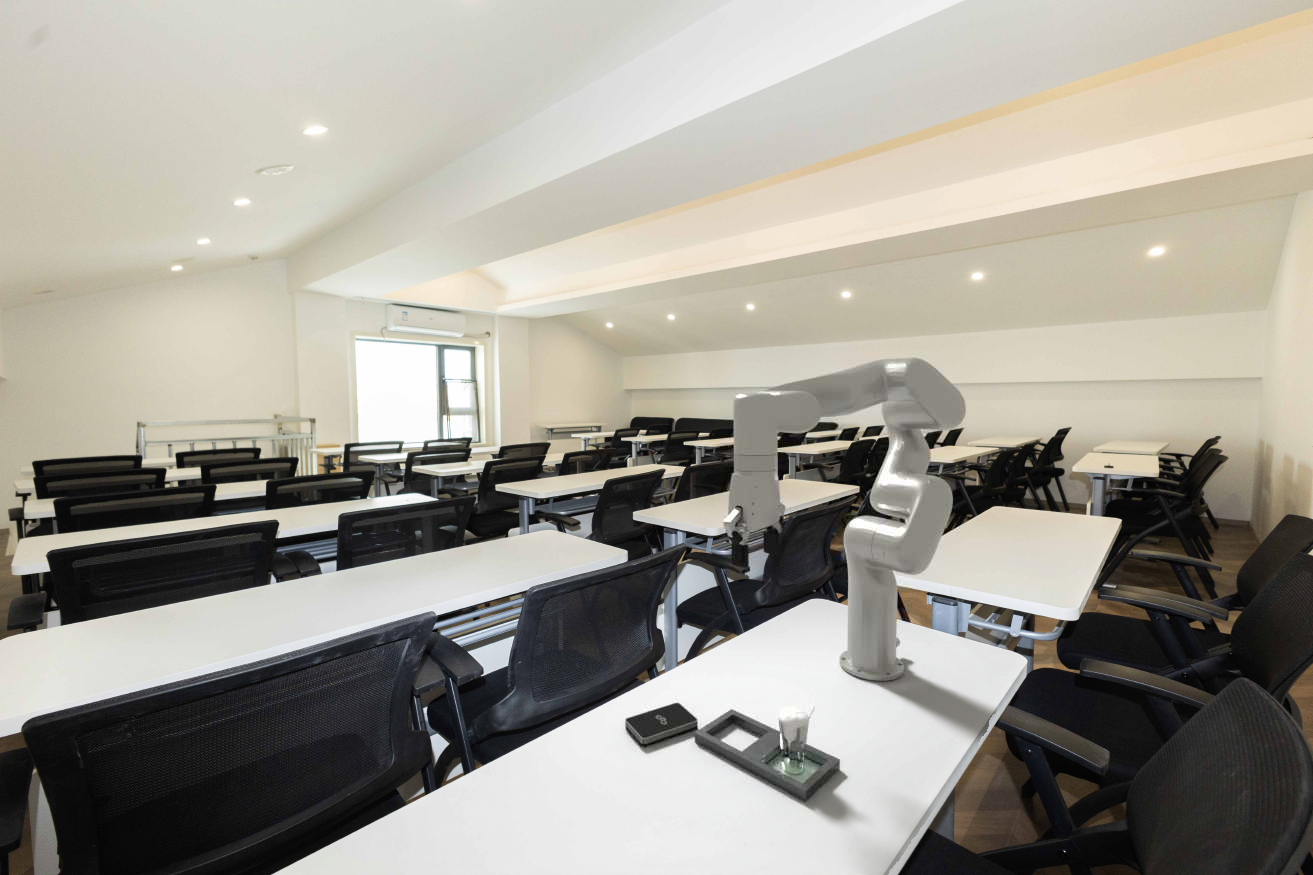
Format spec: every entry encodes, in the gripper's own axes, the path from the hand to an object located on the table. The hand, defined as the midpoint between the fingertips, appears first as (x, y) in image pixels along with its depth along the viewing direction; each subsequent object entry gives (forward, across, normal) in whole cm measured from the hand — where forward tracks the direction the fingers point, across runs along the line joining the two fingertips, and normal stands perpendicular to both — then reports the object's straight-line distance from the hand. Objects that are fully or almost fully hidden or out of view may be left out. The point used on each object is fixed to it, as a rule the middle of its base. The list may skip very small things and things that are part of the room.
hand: (756, 559), depth 105 cm
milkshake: (+28, +10, +14) cm, 33 cm away
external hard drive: (+28, +16, -9) cm, 34 cm away
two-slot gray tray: (+28, +10, +8) cm, 31 cm away
